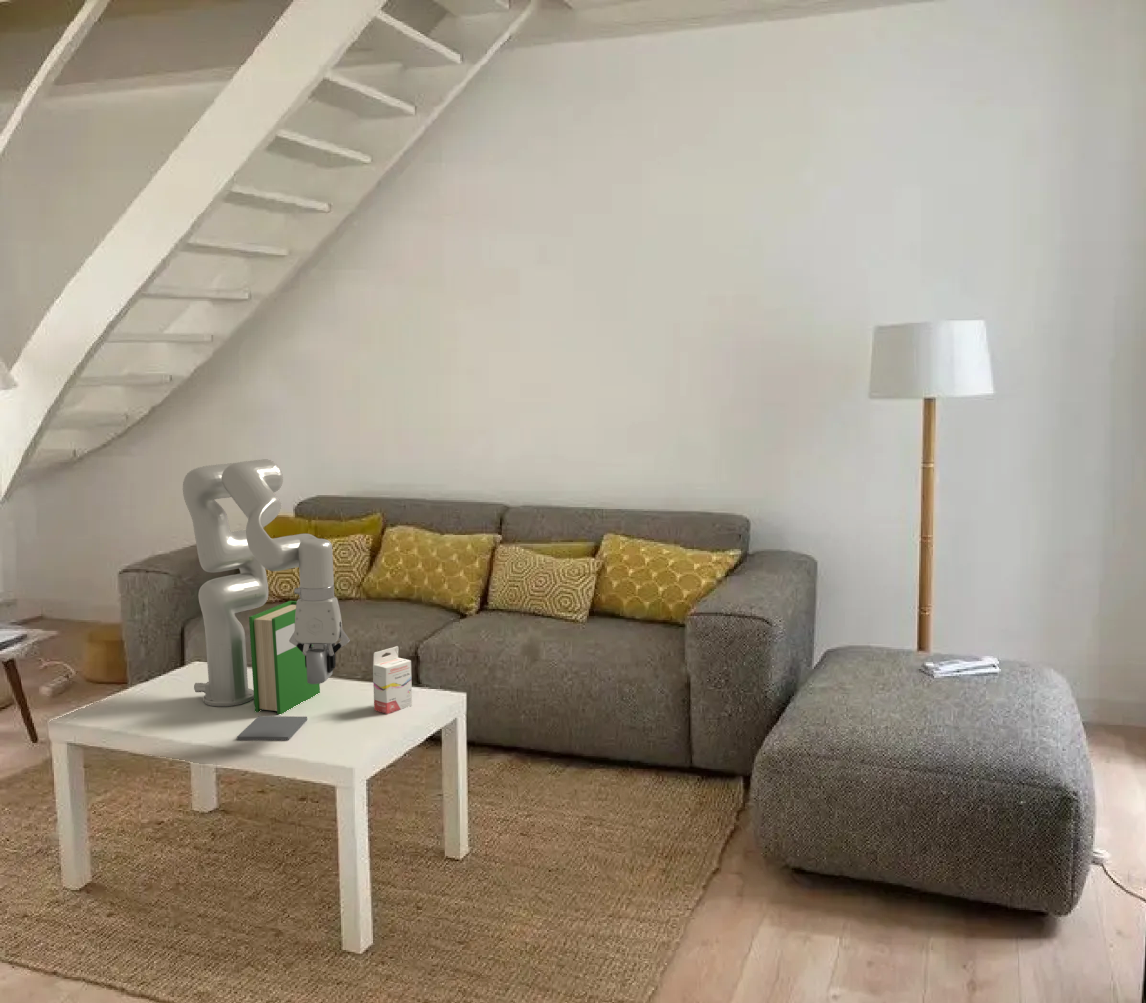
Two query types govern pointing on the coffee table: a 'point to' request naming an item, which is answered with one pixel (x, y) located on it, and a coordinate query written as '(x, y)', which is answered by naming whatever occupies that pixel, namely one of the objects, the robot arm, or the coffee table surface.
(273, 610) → the hardback book
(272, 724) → the charcoal mat
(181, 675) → the coffee table surface
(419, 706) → the coffee table surface
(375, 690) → the ink cartridge box
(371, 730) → the coffee table surface
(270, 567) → the robot arm
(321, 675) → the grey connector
